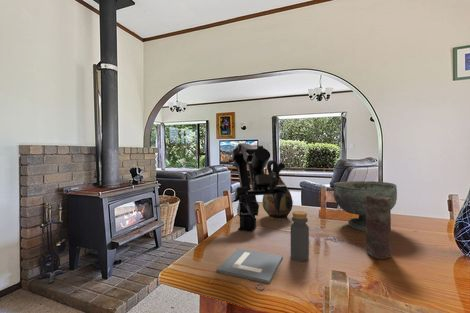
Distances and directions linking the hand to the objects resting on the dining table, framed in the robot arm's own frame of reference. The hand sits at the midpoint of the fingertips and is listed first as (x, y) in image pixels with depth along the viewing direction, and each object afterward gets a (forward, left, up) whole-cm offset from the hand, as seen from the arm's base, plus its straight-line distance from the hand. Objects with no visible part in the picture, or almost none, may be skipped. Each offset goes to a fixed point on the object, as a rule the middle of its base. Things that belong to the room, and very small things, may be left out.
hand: (265, 215), depth 83 cm
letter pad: (-2, -9, -13) cm, 16 cm away
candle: (+35, +14, -13) cm, 40 cm away
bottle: (+11, +2, -13) cm, 18 cm away
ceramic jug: (-7, +43, -13) cm, 45 cm away
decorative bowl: (+33, +45, -14) cm, 57 cm away
